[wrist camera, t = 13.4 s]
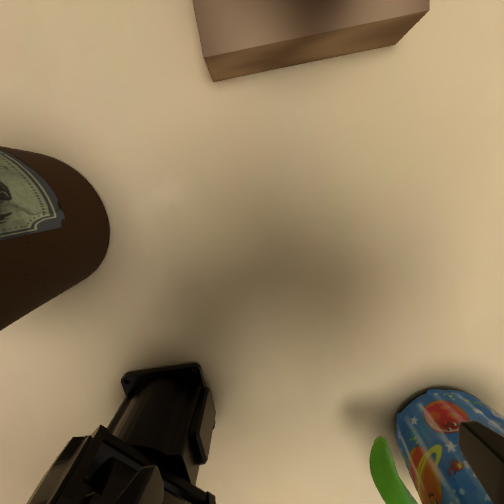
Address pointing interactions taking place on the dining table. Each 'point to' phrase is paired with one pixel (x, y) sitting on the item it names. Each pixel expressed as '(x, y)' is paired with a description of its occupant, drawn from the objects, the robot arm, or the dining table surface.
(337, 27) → the base board
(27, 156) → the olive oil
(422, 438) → the snack cup
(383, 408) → the dining table surface
